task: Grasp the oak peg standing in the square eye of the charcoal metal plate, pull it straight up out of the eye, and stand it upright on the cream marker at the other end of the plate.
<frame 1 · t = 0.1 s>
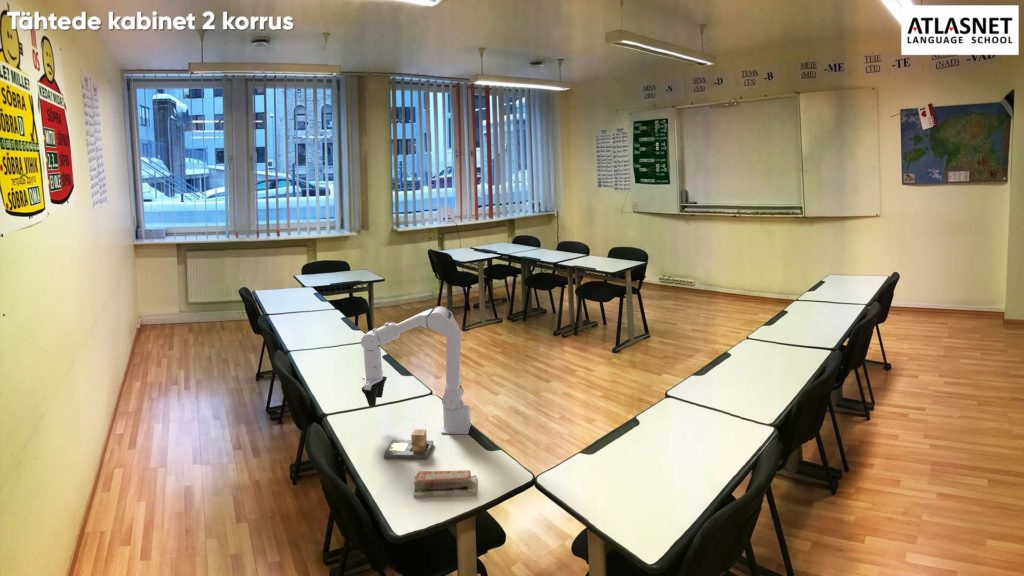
hand: (375, 401, 211), 10 cm above the table, tool pointing down, fingers open, 7 cm apart
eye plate: (409, 451, 195), on the table
packaged product: (445, 489, 174), on the table
peg: (419, 451, 195), resting in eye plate
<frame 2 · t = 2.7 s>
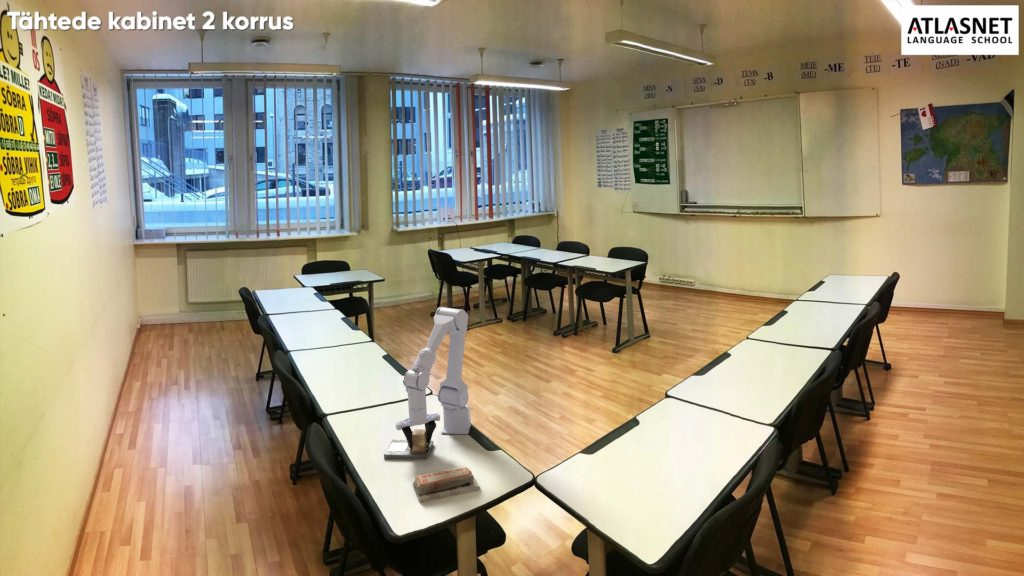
hand: (419, 445, 194), 2 cm above the table, tool pointing down, fingers closed on peg, 5 cm apart
peg: (419, 451, 195), resting in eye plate, touching gripper
when the fingers open (5 cm above the table, at t = 6.1 s): peg stays where it is, resting on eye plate.
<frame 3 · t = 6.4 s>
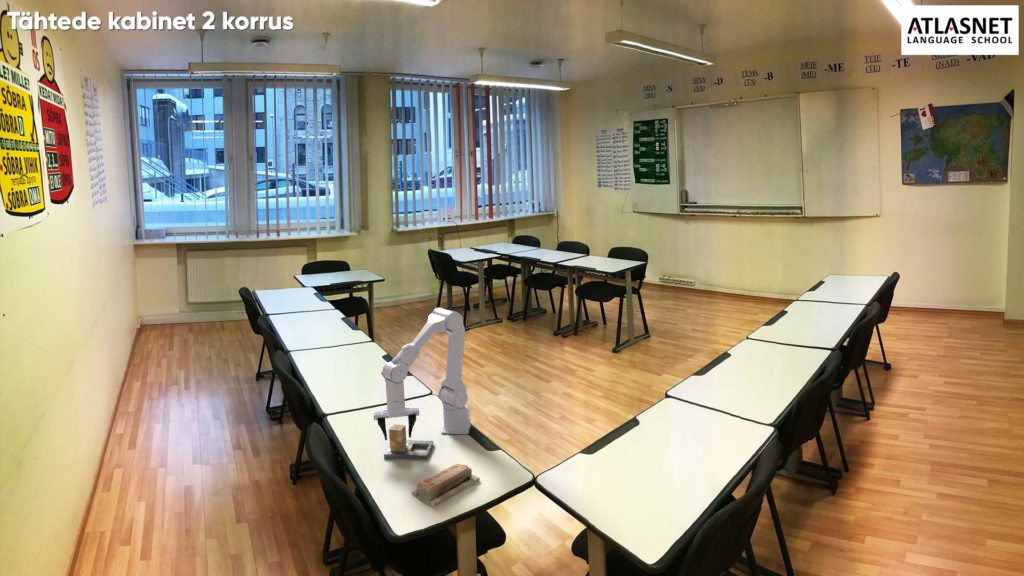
hand: (397, 437, 194), 5 cm above the table, tool pointing down, fingers open, 7 cm apart
peg: (398, 447, 195), point 2 cm above the table, touching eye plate
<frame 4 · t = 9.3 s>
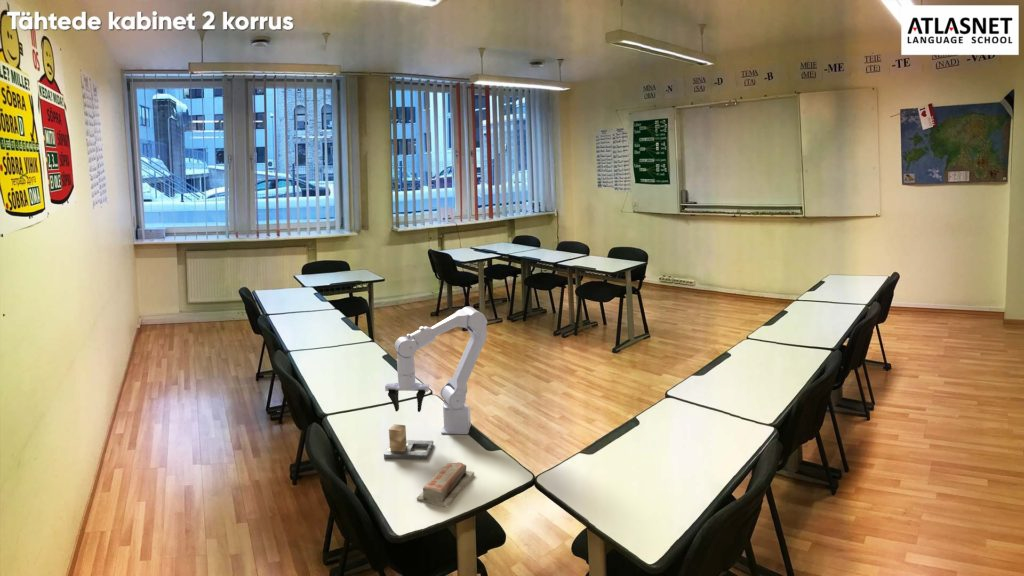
hand: (408, 410, 202), 10 cm above the table, tool pointing down, fingers open, 7 cm apart
at the end: peg 0.2 cm from the target spot on the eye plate, point 1.6 cm above the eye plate's base; peg tilted 0°; the gripper is holding nothing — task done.
